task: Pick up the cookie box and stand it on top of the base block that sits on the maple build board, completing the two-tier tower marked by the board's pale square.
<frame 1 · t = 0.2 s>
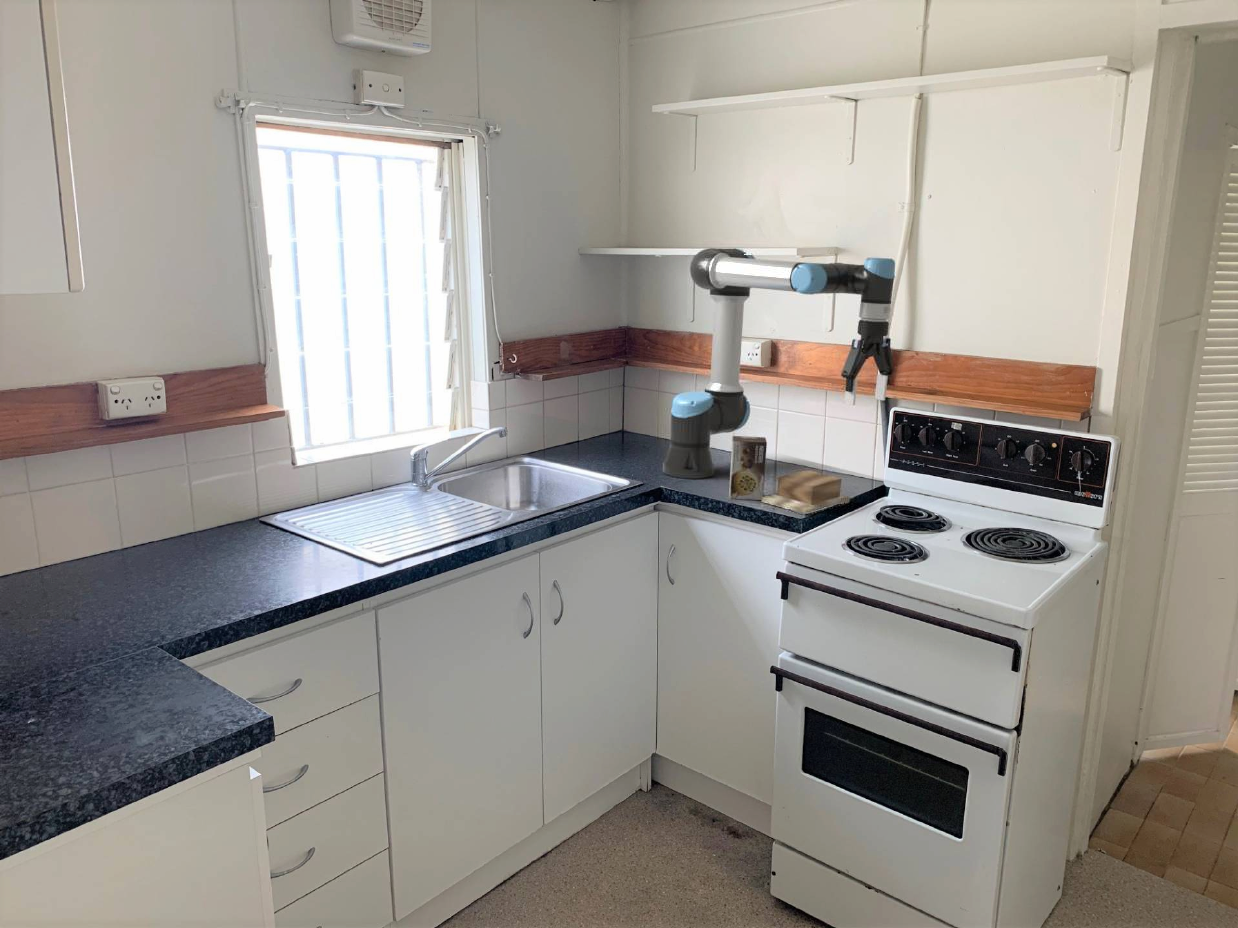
hand: (864, 402, 239), 28 cm above the worktop, fingers open, 13 cm apart
cookie box: (745, 497, 248), on the worktop
base block: (808, 495, 245), point 2 cm above the worktop, touching build board
build board: (805, 502, 245), on the worktop
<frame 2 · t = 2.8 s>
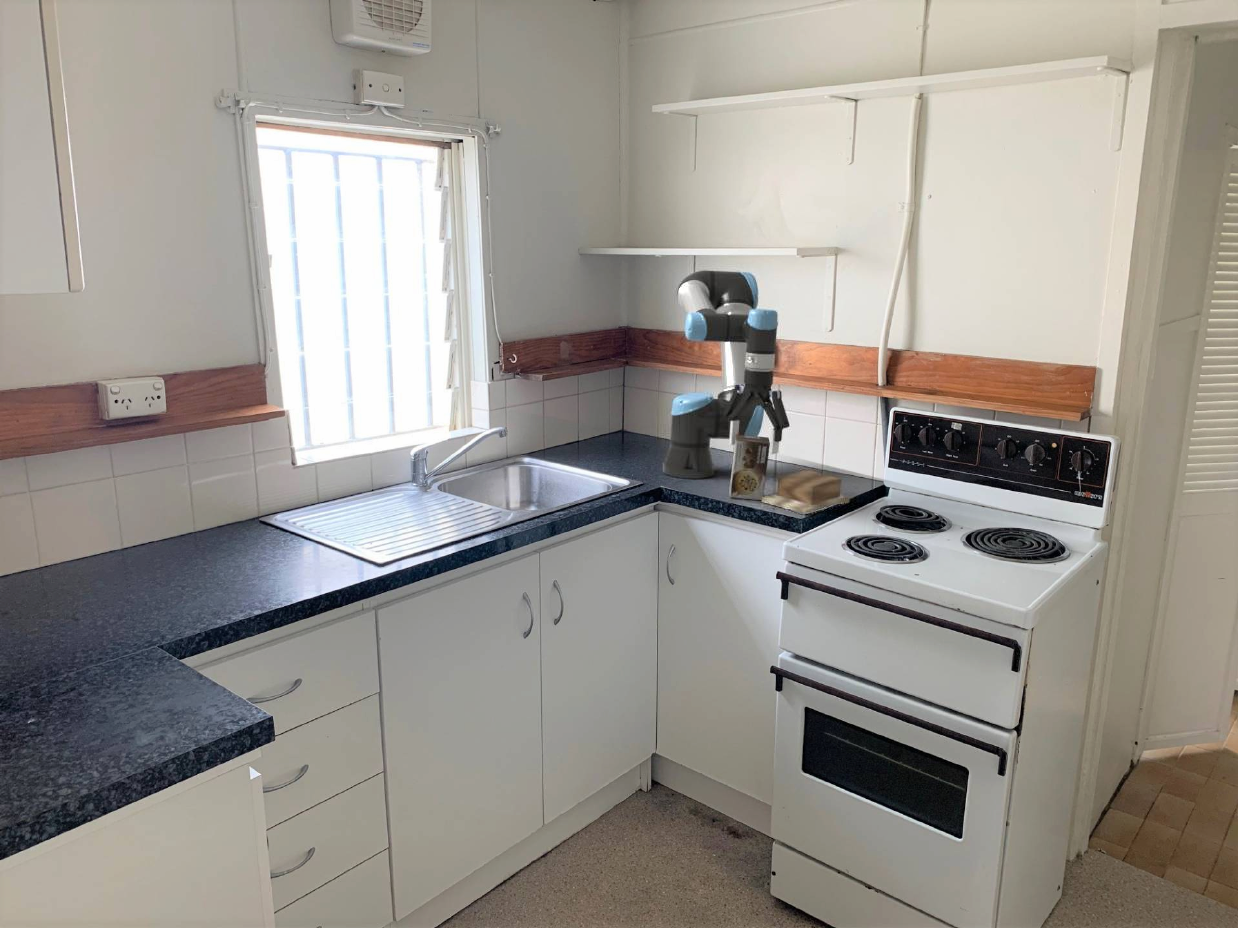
hand: (753, 449, 244), 14 cm above the worktop, fingers open, 13 cm apart
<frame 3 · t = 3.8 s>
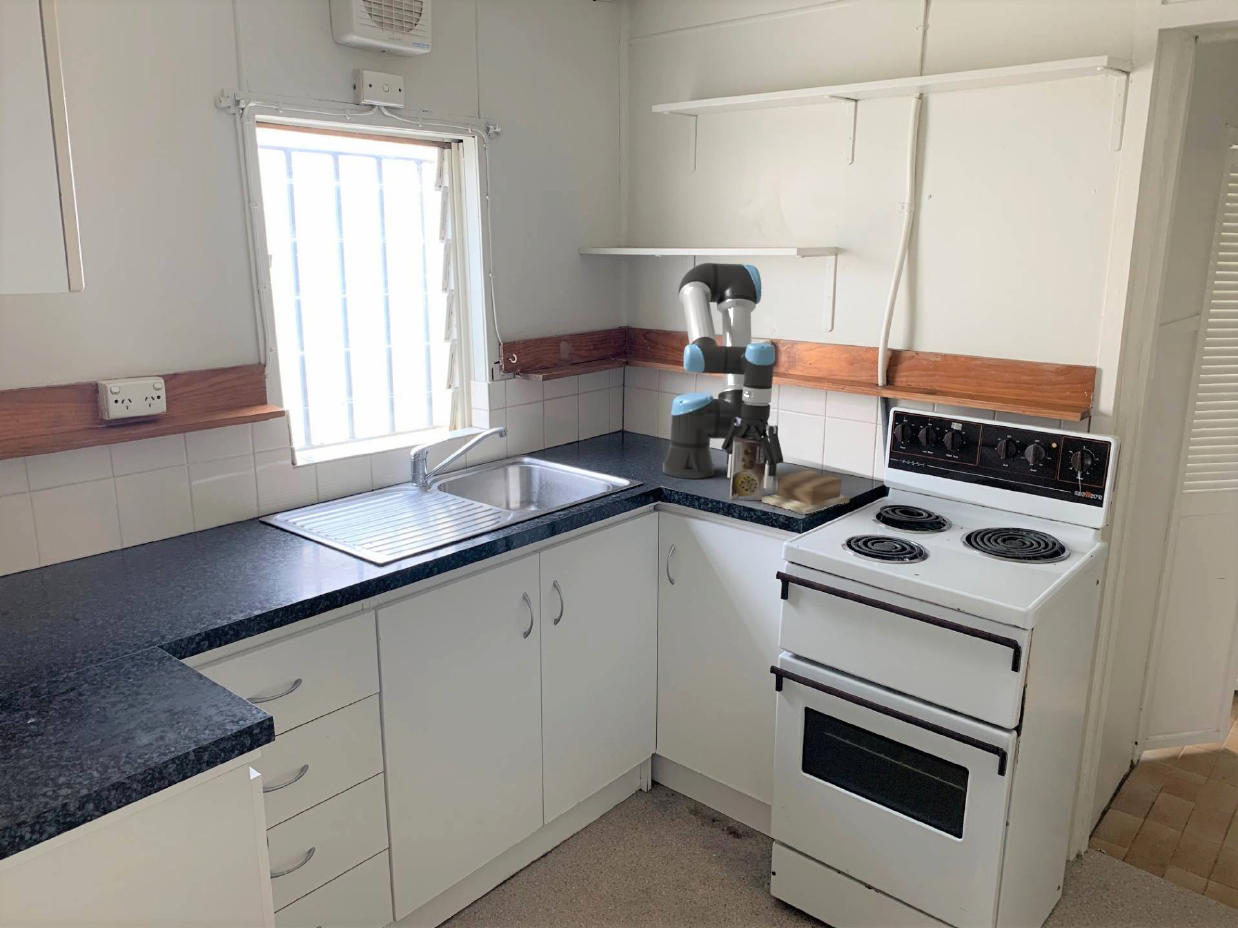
hand: (749, 482, 247), 4 cm above the worktop, fingers open, 12 cm apart
cookie box: (746, 497, 248), on the worktop, touching gripper
everything else where it was.
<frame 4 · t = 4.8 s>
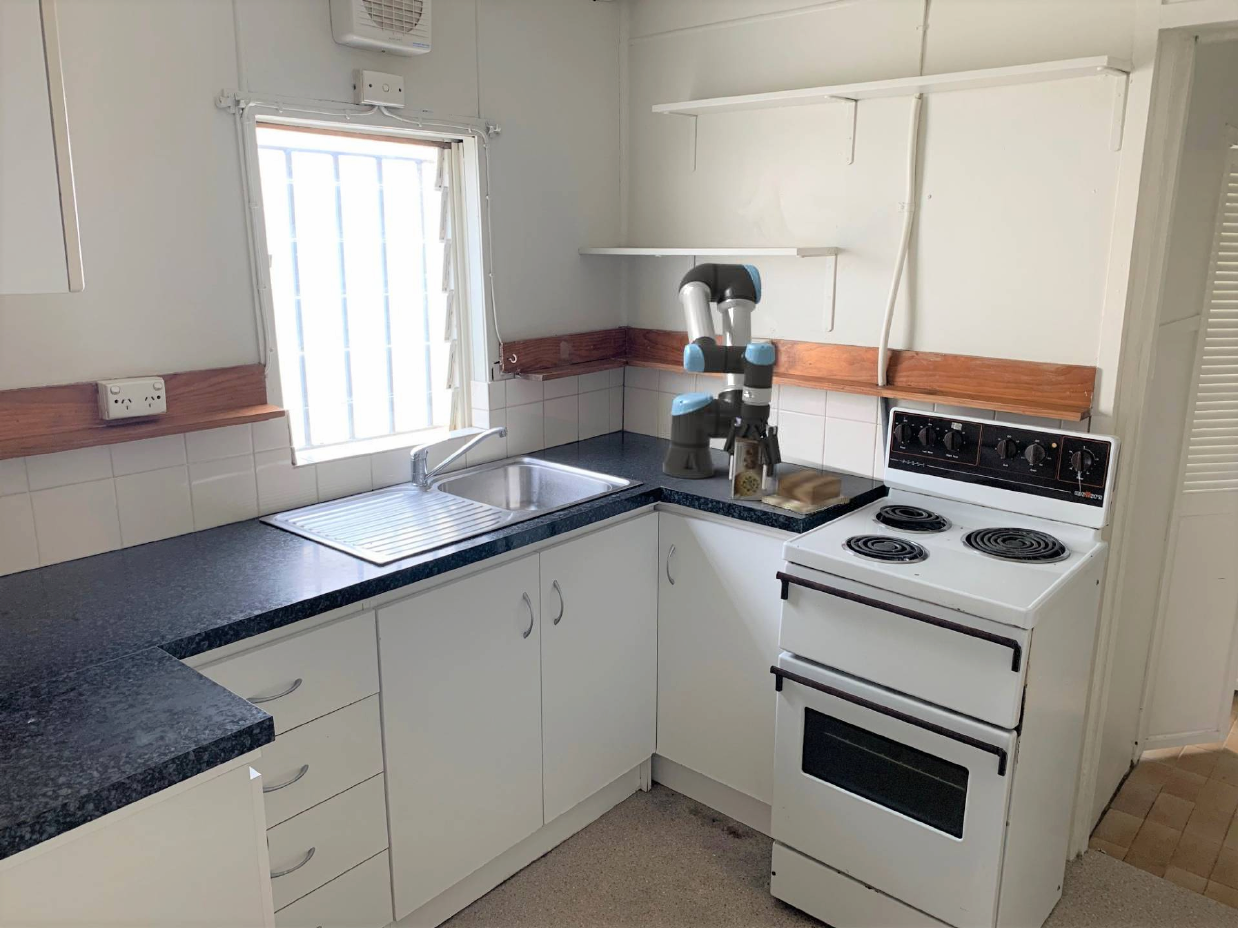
hand: (749, 483, 247), 4 cm above the worktop, fingers closed on cookie box, 10 cm apart
cookie box: (748, 497, 248), on the worktop, touching gripper
everything else where it was.
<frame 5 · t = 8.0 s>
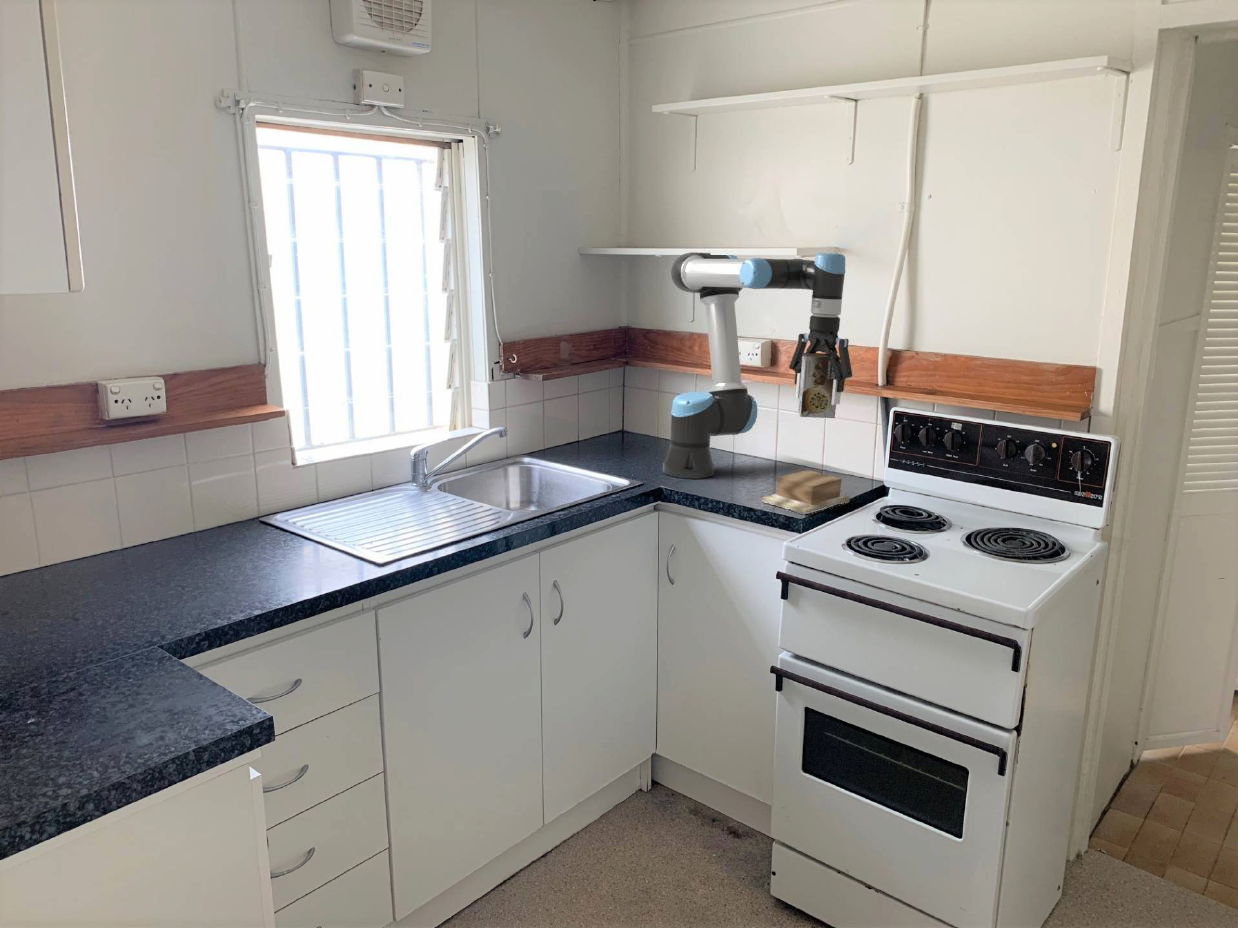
hand: (817, 400, 239), 28 cm above the worktop, fingers closed on cookie box, 10 cm apart
cookie box: (815, 416, 240), point 23 cm above the worktop, touching gripper
everything else where it was.
when the fingers open (12 cm above the worktop, at t = 11.3 s): cookie box drops 1 cm, point 7 cm above the worktop.
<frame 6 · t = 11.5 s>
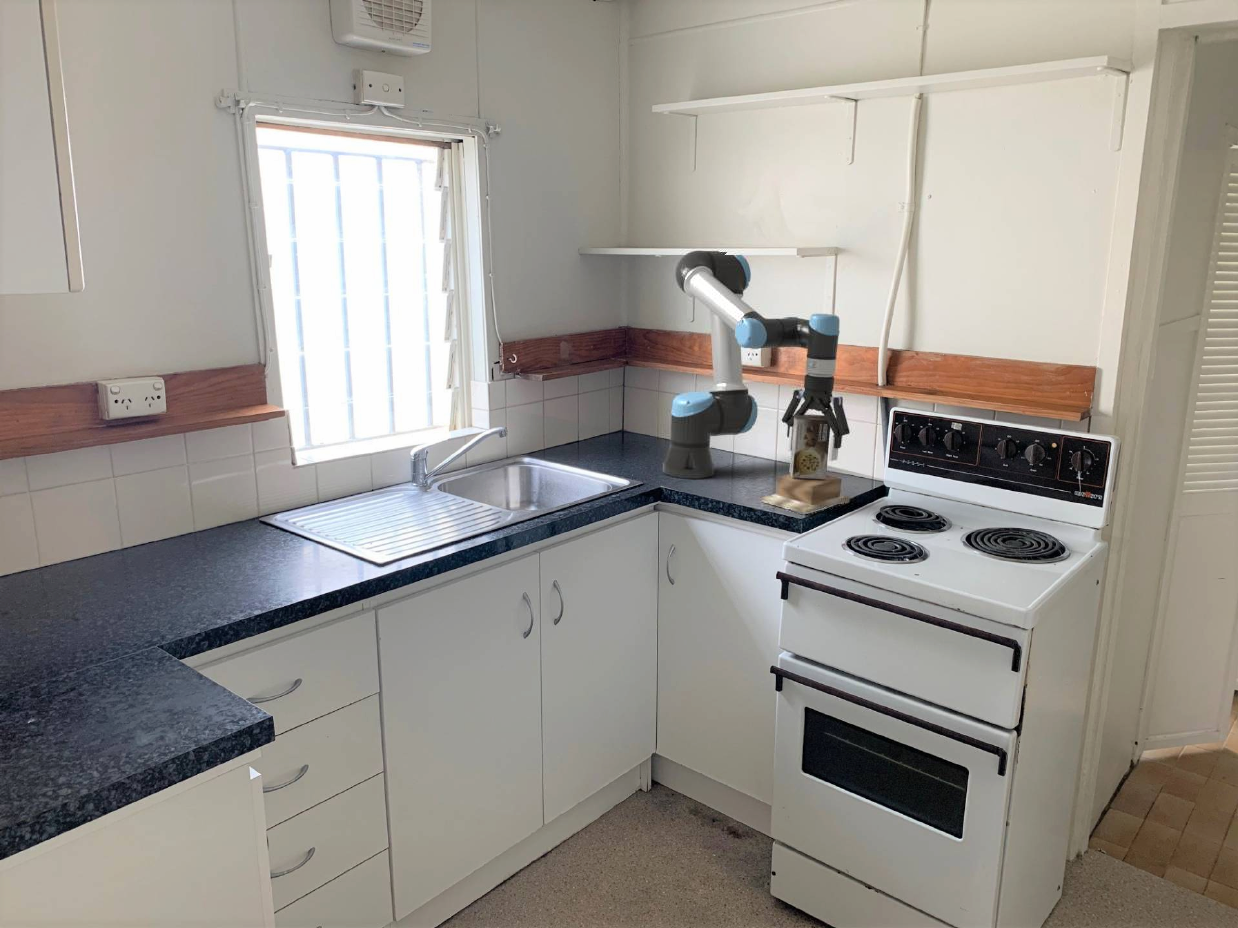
hand: (812, 455, 243), 13 cm above the worktop, fingers open, 12 cm apart
cookie box: (806, 476, 245), point 7 cm above the worktop, touching gripper
everything else where it was.
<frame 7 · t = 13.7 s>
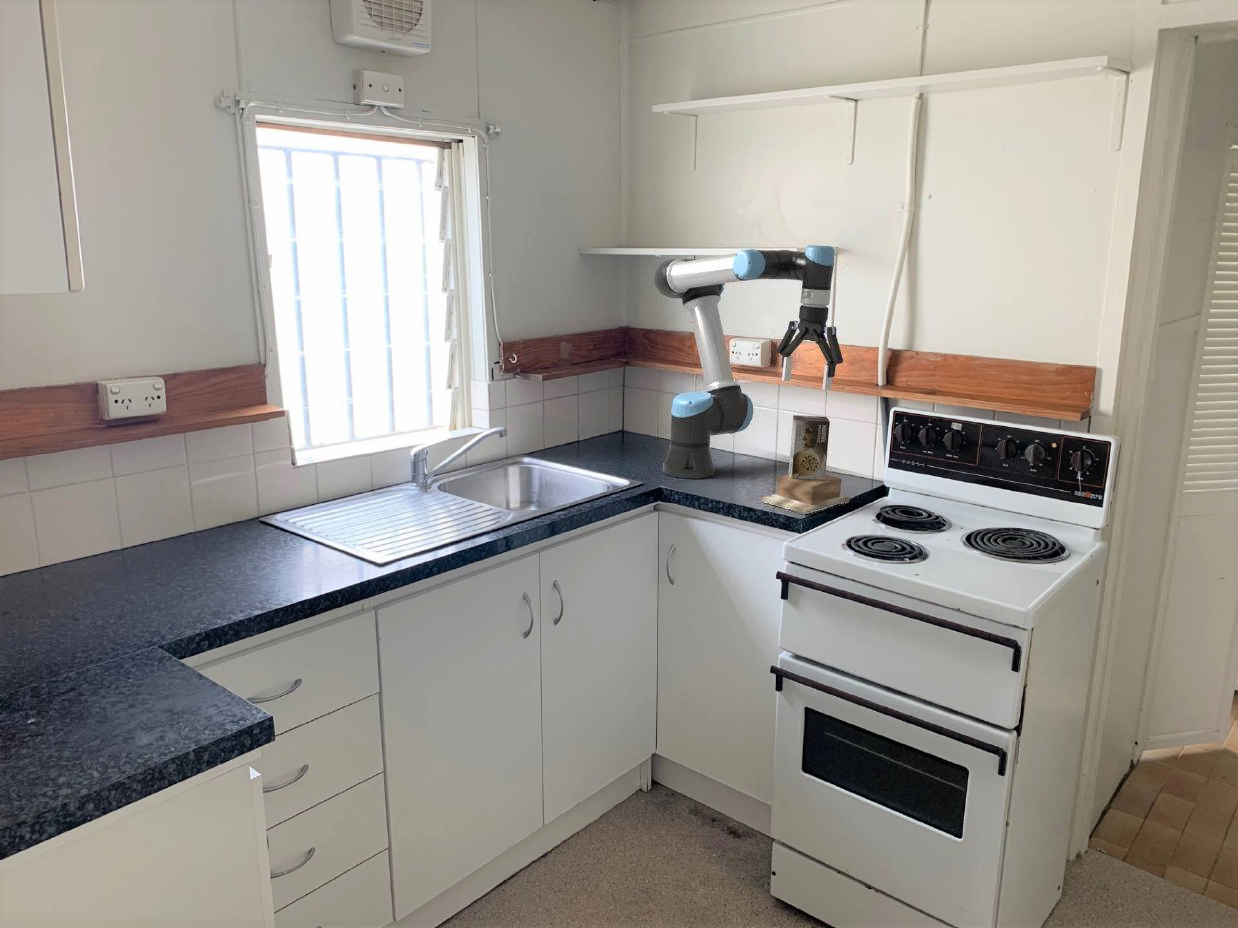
hand: (805, 384, 248), 30 cm above the worktop, fingers open, 13 cm apart
cookie box: (806, 477, 245), point 6 cm above the worktop, touching base block
base block: (808, 495, 245), point 2 cm above the worktop, touching build board, cookie box
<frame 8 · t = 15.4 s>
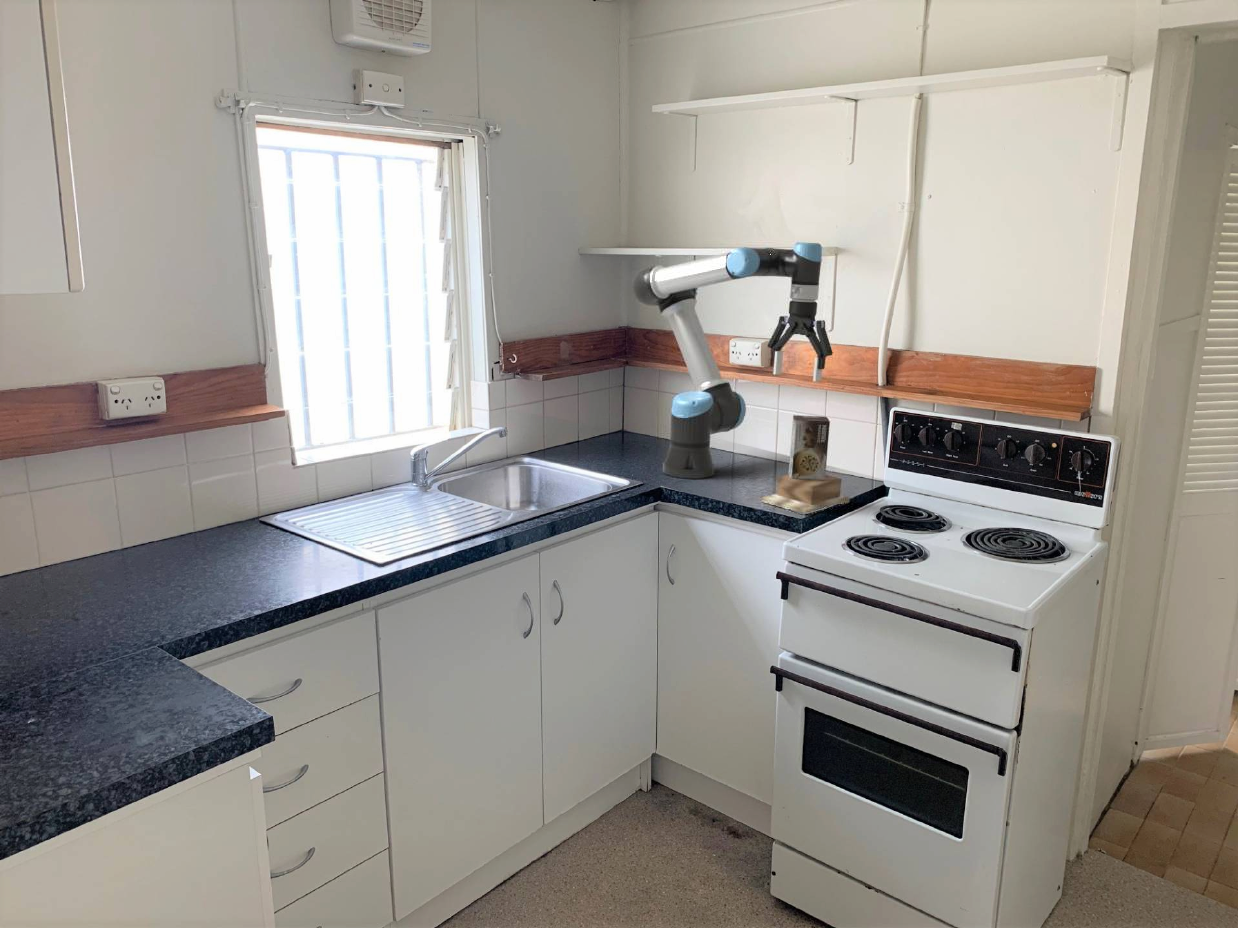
hand: (796, 377, 256), 31 cm above the worktop, fingers open, 13 cm apart
nothing on the worktop moved.
at the end: cookie box inside the target area on the base block (1.3 cm from its centre), point 4.8 cm above the base block's base; cookie box tilted 0°; base block moved 0.0 cm from its start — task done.
